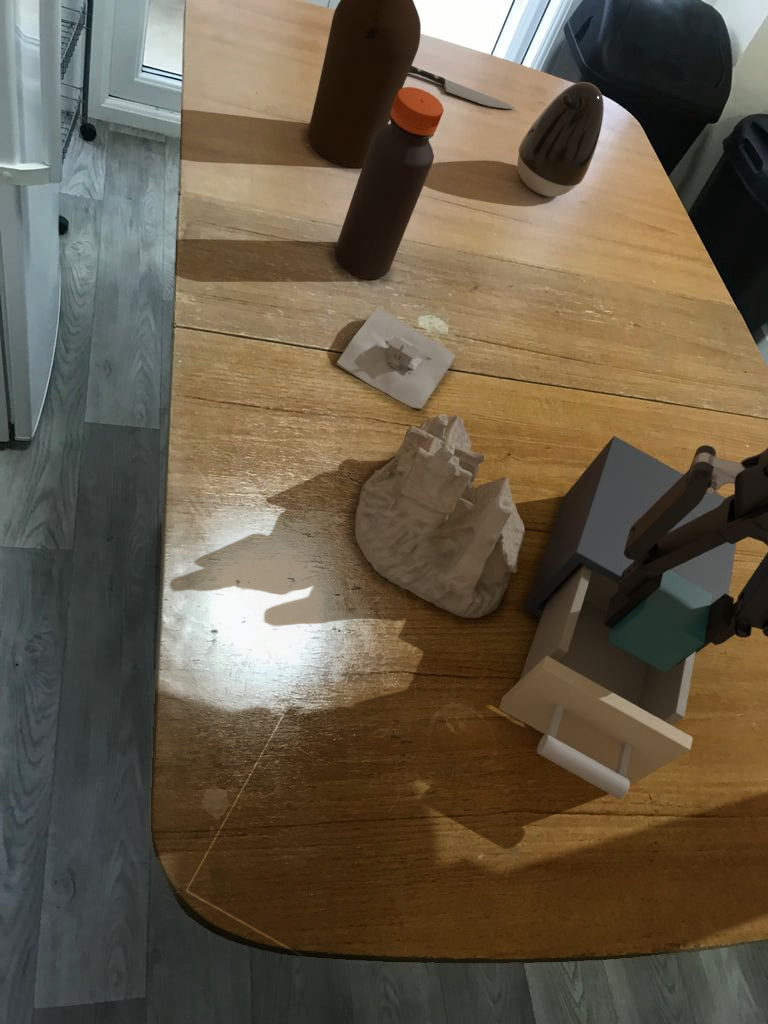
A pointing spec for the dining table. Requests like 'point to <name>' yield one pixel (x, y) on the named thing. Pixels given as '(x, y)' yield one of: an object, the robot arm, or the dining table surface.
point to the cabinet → (620, 524)
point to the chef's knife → (462, 90)
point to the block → (665, 623)
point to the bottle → (389, 185)
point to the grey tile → (396, 359)
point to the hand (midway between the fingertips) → (643, 631)
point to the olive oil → (362, 75)
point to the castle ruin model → (440, 522)
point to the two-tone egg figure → (562, 141)
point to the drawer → (598, 692)
